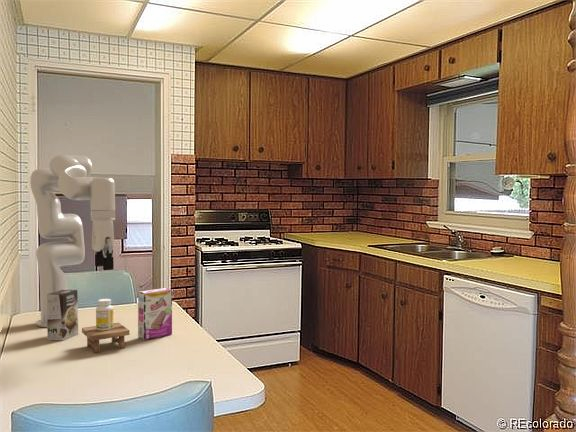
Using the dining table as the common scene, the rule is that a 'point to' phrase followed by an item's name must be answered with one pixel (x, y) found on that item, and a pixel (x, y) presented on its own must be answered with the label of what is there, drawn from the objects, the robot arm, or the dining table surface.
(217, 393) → the dining table surface
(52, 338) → the coffee box
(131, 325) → the dining table surface
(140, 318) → the candy bar box
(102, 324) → the supplement bottle
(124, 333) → the stool
